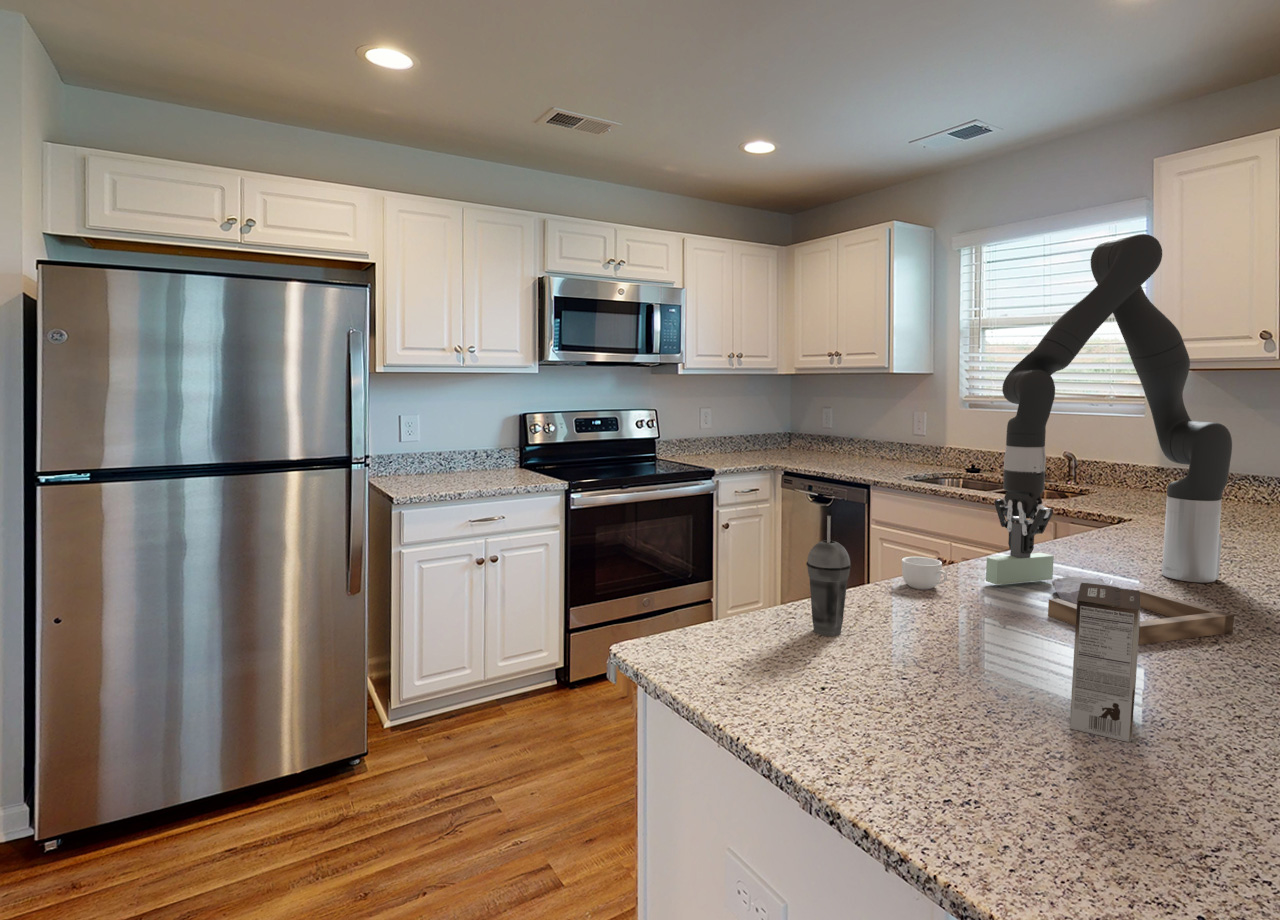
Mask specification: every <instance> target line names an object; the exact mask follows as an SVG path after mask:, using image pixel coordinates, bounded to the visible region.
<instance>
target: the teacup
mask: <svg viewBox="0 0 1280 920" xmlns="http://www.w3.org/2000/svg"><path fill="white" fill-rule="evenodd" d="M942 567H943V562H942V561H941V560H939V559H936V558H932V557H927V556H906V557H903V558H902V559H901V572H902V579H903V580H904V583H906V585H907V586H909V587H910V588H912V589H917V590H931V589H933V588H935V587H937V585H941V584H944V583H947V581H948V580H947V579H948V575H947V572H946V571H944V570H942V569H943V568H942ZM942 574H943V580H941V577H942Z"/></svg>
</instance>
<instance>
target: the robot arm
mask: <svg viewBox="0 0 1280 920" xmlns="http://www.w3.org/2000/svg"><path fill="white" fill-rule="evenodd" d="M1162 259H1163V247H1162V244H1161V243H1160V241H1159V239H1157V238H1156V237H1155V236H1153V235H1150V234H1147V233H1136V234H1130V235H1129V234H1128V235H1124V236H1121V237H1120V236H1119V237H1115V238H1111V239H1108V240H1104V241H1102V242H1100V243H1098V245H1096V247H1095V248H1094V249H1093V251H1092V253H1091V257H1090V269H1091V272H1092V273H1091V274H1092V276H1093V279H1094V280H1095V282H1096V284H1097V285H1096V286H1095V287H1094V288H1093V289H1092V290H1091V291H1090V292H1089V293H1088V294H1087V295H1086V296H1085V297H1083V298H1082V299H1081V300H1079V302H1077V303H1076V304H1075V305H1073V306H1072V307H1071V308H1069V309H1068V310H1067V311H1065V312H1064V313H1063V314H1062V316H1060V317H1059V318H1058V319H1057V320H1056V322H1054V323H1053V324H1052V326H1050V328H1049V330H1048V331H1047V332H1046V334H1044V336H1043V337H1042V339H1041V340H1040V341H1039V342H1038V344H1037V346H1036V347H1035V348H1034V349H1033V350H1032V351H1030V352H1029V353H1028V354H1027V355H1025V356H1024V357H1023V359H1021V360H1020V361H1019V362H1018V363H1017V364H1016V365H1015V366H1014V367H1013V368H1012V369H1011V370H1010V371H1009V373H1008V374H1007V375H1006V377H1005V379H1004V380H1003V383H1002V388H1001V389H1002V391H1001V392H1002V394H1003V397H1004V399H1006V400H1007V401H1008V402H1009V403H1012V404H1015V405H1017V409H1016V410H1017V411H1016V414H1015V416H1014V417H1012V418H1010V419H1009V420H1008V422H1007V425H1006V439H1005V440H1006V441H1005V442H1006V443H1005V452H1004V459H1003V479H1002V482H1003V483H1002V489H1003V490H1004V491H1006V492H1005V494H1004V498H1001V499H995V500H994V507H995V509H996V513H997V516H998V519H999V523H1000V526H1001V527H1002V528H1005V529H1006V530H1007V531H1008V541H1007V542H1008V549H1009V550H1010V551H1011V530H1012V523H1013V522H1020V524H1022V534H1023V535H1022V541H1021V552H1022V553H1025V554H1027V553H1031V554H1033V553H1032V552H1033V550H1034V548H1035V547H1034V545H1035V535H1040V534H1044V532H1045V530H1046V528H1047V526H1048V523H1049V521H1050V520H1051V518H1052V516H1053V513H1054V509H1053V508H1050V507H1049V508H1048V507H1046V506H1045V505H1044V504H1043V500H1042V497H1041V496H1042V493H1043V492H1044V491H1045V484H1046V482H1045V481H1046V463H1047V457H1046V427H1047V423H1048V420H1049V418H1050V414H1051V411H1052V407H1053V404H1054V401H1055V395H1056V384H1055V381H1054V379H1053V377H1052V375H1053V374H1055V373H1056V372H1059V371H1062V370H1064V369H1066V368H1067V367H1068V366H1069V365H1070V364H1071V363H1072V361H1073V360H1075V358H1076V357H1077V355H1078V354H1079V353H1080V351H1081V350H1082V349H1083V348H1084V346H1085V345H1086V344H1087V342H1089V339H1091V337H1092V336H1093V335H1094V334H1095V332H1096V331H1097V330H1098V329H1099V328H1100V327H1101V326H1102V325H1103V323H1105V321H1106V320H1108V318H1109V317H1110V316H1111V315H1112V314H1113V317H1114V319H1115V321H1116V323H1117V324H1116V325H1117V326H1118V328H1119V329H1118V330H1120V333H1121V335H1122V339H1123V340H1124V343H1125V346H1126V348H1127V351H1128V354H1129V356H1130V357H1129V358H1130V359H1131V361H1132V364H1133V367H1134V369H1135V372H1136V374H1137V377H1138V378H1139V382H1140V384H1141V386H1142V389H1143V391H1144V395H1145V397H1146V400H1147V403H1148V406H1149V409H1150V412H1151V416H1152V419H1153V423H1154V428H1155V432H1156V436H1157V437H1156V438H1157V440H1158V444H1159V446H1160V449H1161V452H1162V453H1163V455H1164V456H1165V457H1166V459H1168V460H1169V461H1170V462H1172V463H1176V464H1179V465H1186V466H1187V465H1188V471H1187V474H1186V475H1185V477H1183V478H1181V479H1178V480H1174V481H1171V482H1170V483H1168V485H1167V489H1166V505H1165V518H1164V519H1165V521H1164V535H1163V549H1162V550H1163V551H1162V567H1161V575H1162V576H1164V577H1166V578H1169V579H1174V580H1177V581H1182V582H1191V583H1202V584H1203V583H1213V582H1216V580H1218V579H1219V577H1220V566H1221V565H1220V563H1221V553H1222V551H1221V549H1222V539H1223V537H1222V534H1220V531H1221V530H1220V529H1221V513H1222V501H1223V493H1224V490H1225V488H1226V487H1227V484H1228V482H1229V481H1228V480H1229V473H1230V466H1231V459H1232V452H1233V451H1232V450H1233V439H1232V435H1231V433H1230V430H1229V429H1228V428H1227V426H1225V425H1223V424H1222V423H1218V422H1212V421H1197V420H1196V421H1195V420H1192V419H1191V418H1190V416H1189V414H1188V412H1187V408H1186V405H1185V403H1184V399H1183V397H1184V395H1183V393H1184V389H1185V385H1186V383H1187V379H1188V375H1189V373H1190V366H1191V360H1190V355H1189V352H1188V351H1187V347H1186V345H1185V342H1184V339H1183V336H1182V334H1181V332H1180V330H1178V328H1177V327H1176V325H1175V324H1174V323H1173V322H1172V321H1171V320H1170V319H1169V318H1168V317H1167V316H1166V315H1165V314H1164V313H1163V312H1162V311H1160V310H1159V308H1158V307H1156V306H1155V304H1154V303H1152V302H1151V301H1150V299H1149V298H1148V296H1147V294H1146V293H1145V292H1144V289H1143V287H1142V285H1143V284H1144V283H1146V282H1147V281H1148V279H1150V278H1151V277H1152V275H1154V274H1155V272H1156V271H1157V269H1158V268H1159V266H1160V265H1161V262H1162V261H1163V260H1162ZM1028 524H1030V529H1028Z"/></svg>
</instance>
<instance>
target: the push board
mask: <svg viewBox="0 0 1280 920" xmlns="http://www.w3.org/2000/svg"><path fill="white" fill-rule="evenodd" d="M1028 529H1030V524H1028ZM1022 535H1023V534H1022V524H1020V522H1016V521H1015V522H1013V523H1012V530H1011V550H1010V552H1009V553H1010V555H1001V556H1000V555H999V556H989V557H988V556H987V557H986V567H985V582H987V583H990V584H992V585H996V586H998V585H1007V584H1009V585H1010V584H1021V583H1030V582H1039V581H1041V582H1042V581H1049V580H1052V581H1053V580H1054V577H1053V575H1054V574H1053V573H1054V558H1055V556H1054V555H1053V554H1052V555H1051V554H1048V553H1044V552H1037V553H1036V552H1034V553H1027V554H1025V553H1022V552H1021V541H1022Z"/></svg>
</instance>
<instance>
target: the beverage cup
mask: <svg viewBox="0 0 1280 920" xmlns="http://www.w3.org/2000/svg"><path fill="white" fill-rule="evenodd" d="M831 517H832V516H831V515H827V517H826V518H827V521H826V522H827V523H826V524H827V525H826V526H827V527H826V540H821V541H819V542H817V543H816V544H815V545H814V546H812V548H811V549H810V550H809V553H808V555H807V561H806V566H807V573H808V574H807V575H808V577H809V587H810V588H809V589H810V604H811V607H810V608H811V618H812V625H813V626H812V627H813V632H814V634H816V635H819V636H825V637H837V636H839V635H841V634H842V627H843V624H844V613H845V605H846V594H847V588H848V587H847V586H848V579H849V576H850V572H851V567H852V564H851V559H850V558H851V557H850V555H849V553H848V551H847V549H846V547H844V546H843V545H842V544H840V543H839V542H838V541H835V540H831V519H832V518H831Z"/></svg>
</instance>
